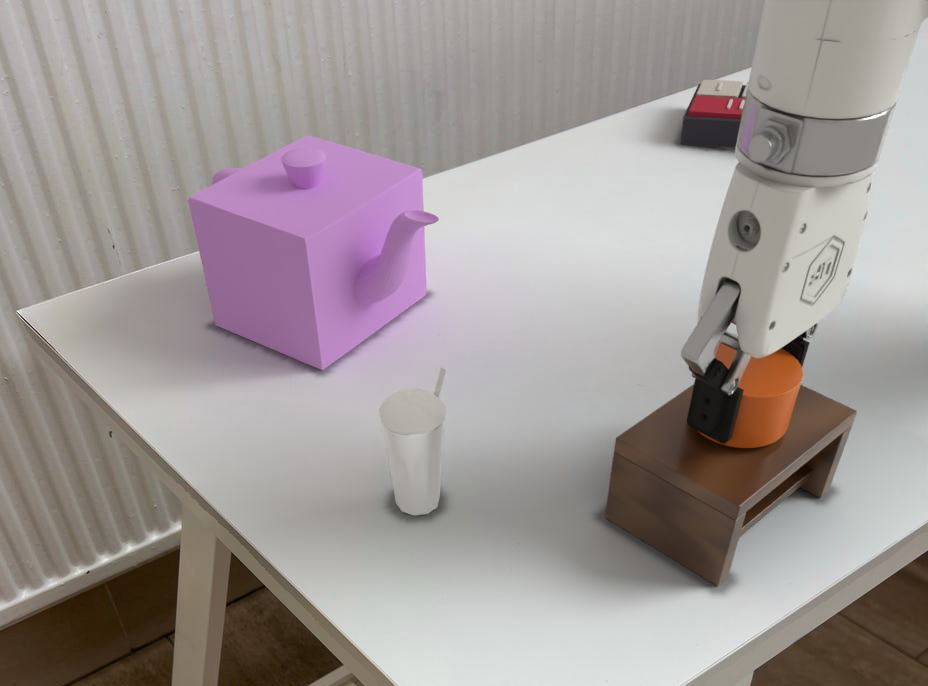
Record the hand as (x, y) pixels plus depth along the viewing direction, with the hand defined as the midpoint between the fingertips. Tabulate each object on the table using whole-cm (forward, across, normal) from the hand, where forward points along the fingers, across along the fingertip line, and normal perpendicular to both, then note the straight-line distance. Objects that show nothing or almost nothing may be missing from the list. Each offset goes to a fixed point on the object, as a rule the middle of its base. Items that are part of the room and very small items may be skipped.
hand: (741, 407), depth 65 cm
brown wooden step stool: (+9, 0, 0) cm, 9 cm away
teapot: (+9, -3, +41) cm, 42 cm away
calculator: (+9, +57, +36) cm, 68 cm away
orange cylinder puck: (+1, 0, 0) cm, 1 cm away
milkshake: (+9, -15, +16) cm, 24 cm away
